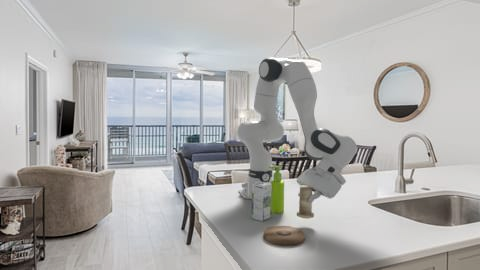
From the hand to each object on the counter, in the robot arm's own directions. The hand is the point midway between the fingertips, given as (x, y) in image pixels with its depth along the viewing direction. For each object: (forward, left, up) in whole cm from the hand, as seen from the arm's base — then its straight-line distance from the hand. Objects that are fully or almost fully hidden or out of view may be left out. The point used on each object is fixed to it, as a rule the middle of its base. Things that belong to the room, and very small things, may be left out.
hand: (304, 198), depth 114 cm
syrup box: (-14, -11, -11) cm, 21 cm away
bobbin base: (+6, -12, -10) cm, 17 cm away
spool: (0, +1, -6) cm, 6 cm away
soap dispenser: (-20, -1, -11) cm, 22 cm away
